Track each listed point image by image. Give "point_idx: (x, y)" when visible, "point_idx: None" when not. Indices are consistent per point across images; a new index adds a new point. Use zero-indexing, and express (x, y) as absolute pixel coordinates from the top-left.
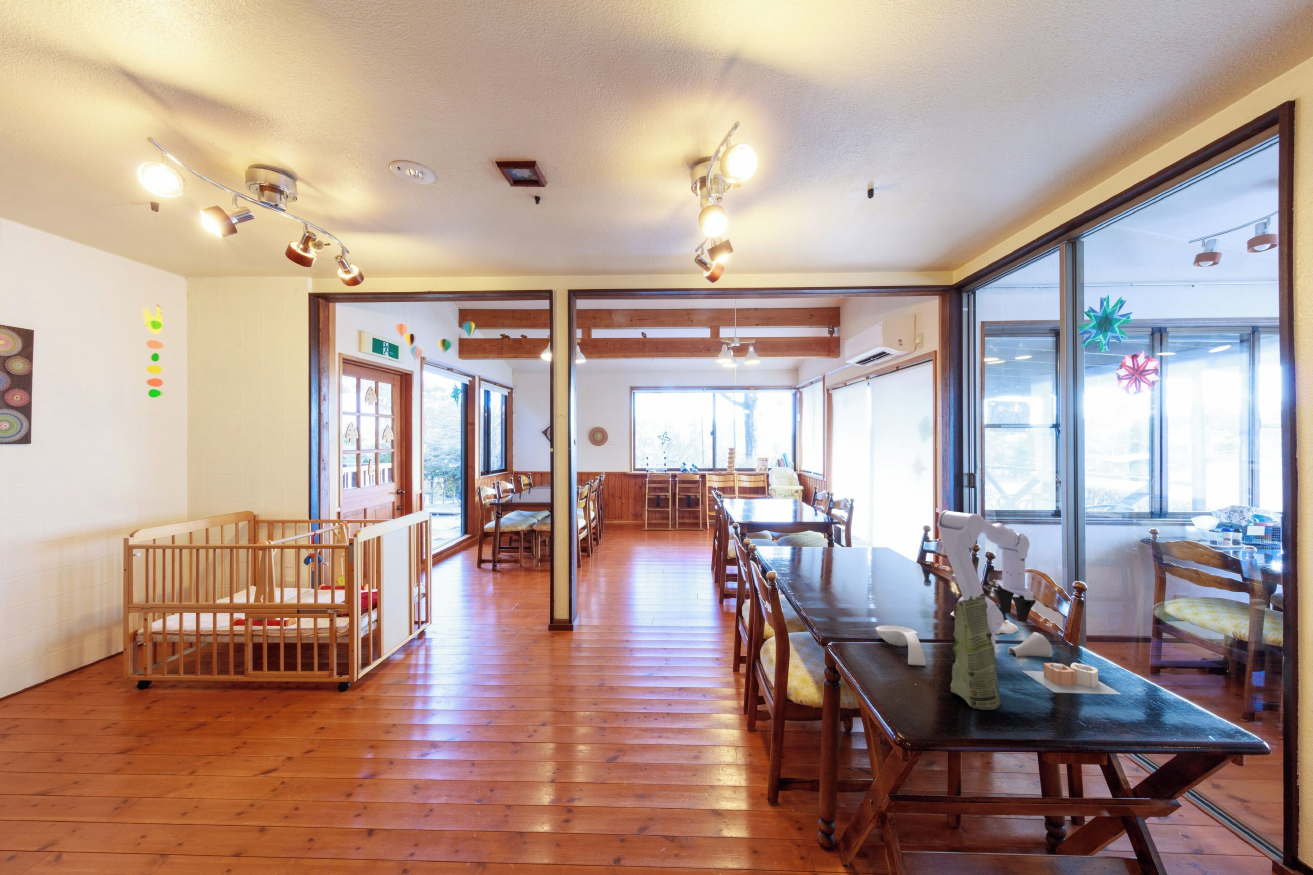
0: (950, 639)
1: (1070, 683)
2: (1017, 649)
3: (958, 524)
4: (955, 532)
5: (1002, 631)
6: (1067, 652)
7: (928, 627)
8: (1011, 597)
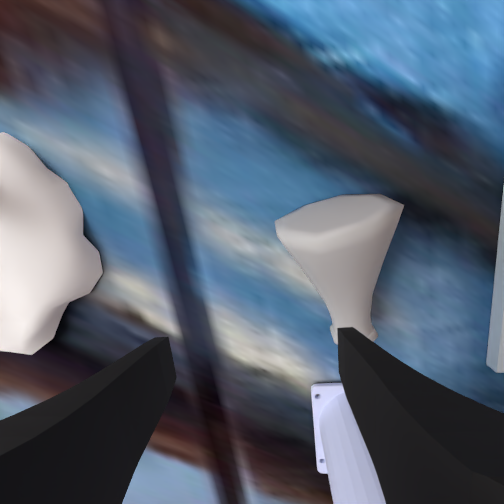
0: (202, 430)
1: None
2: (365, 328)
3: None
4: None
5: (78, 231)
6: (249, 62)
7: None
8: (76, 427)
